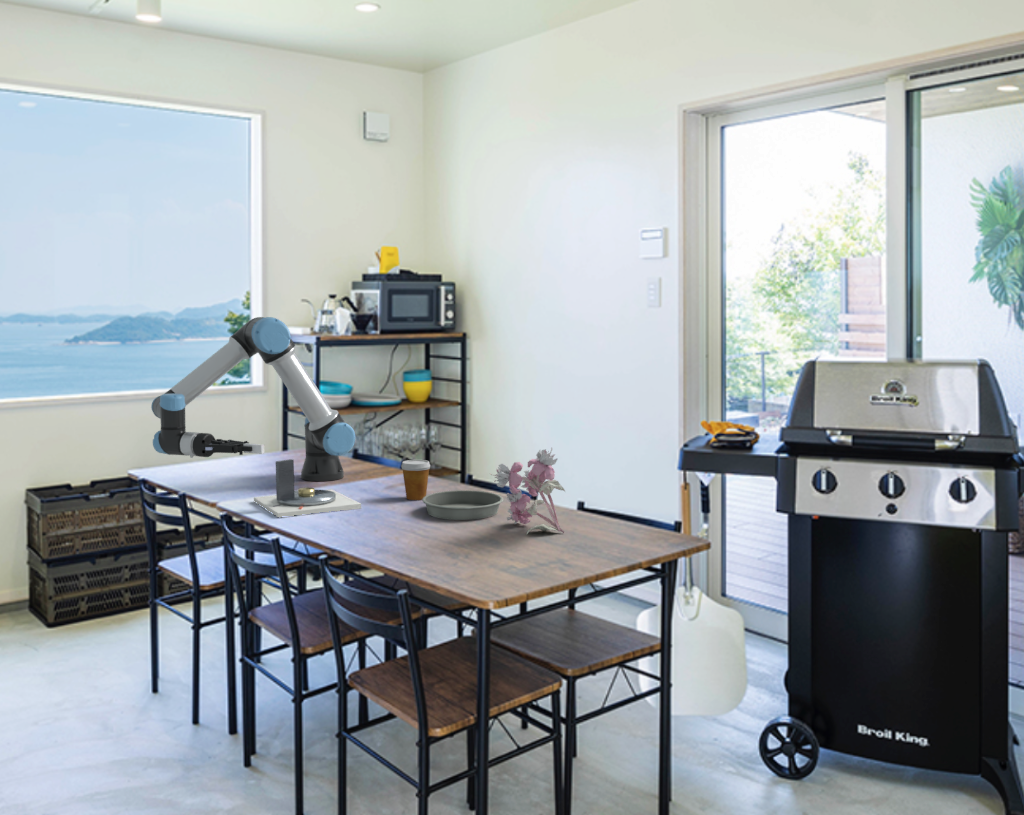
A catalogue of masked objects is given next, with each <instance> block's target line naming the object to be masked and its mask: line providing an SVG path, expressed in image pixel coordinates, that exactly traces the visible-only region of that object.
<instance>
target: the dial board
mask: <svg viewBox="0 0 1024 815" xmlns="http://www.w3.org/2000/svg"><path fill="white" fill-rule="evenodd" d="M326 490H327V491H332V492H334V493H335V494H336V499H335V500H334V501H332V502H329V503H325V504H319V505H310V506H291V505H284V504H280V503H278V502H277V494H273V495H265V496H256V497H253V502H254V501H255V502H257V503H258V504H260V505H261V506H263V507H264V508H266V509H267V510H268V511H270V512H272V513H273V514H274V515H276V516H277V517H282V516H293V517H295V516H294V515H302V514H310V513H319V512H327V513H332V512H331V511H335V512H341V511H340V510H344V511H350V510H358V509H359V510H360V509H362V503H361V502H358V501H357V500H355V499H353V498H350V497H348V496H346V495H344V494H342V493H340V492H339V491H336V490H335V489H326ZM255 502H254V503H255ZM258 504H257V505H258ZM261 506H260V507H261ZM264 508H263V509H264ZM267 510H266V511H267ZM268 511H267V512H268ZM329 511H330V512H329ZM270 512H269V513H270ZM273 514H272V515H273ZM319 514H320V513H319ZM274 515H273V516H274ZM310 515H311V514H310ZM276 516H275V517H276ZM302 516H303V515H302ZM277 517H276V518H277Z"/></svg>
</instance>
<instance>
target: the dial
mask: <svg viewBox="0 0 1024 815" xmlns="http://www.w3.org/2000/svg"><path fill="white" fill-rule="evenodd" d="M275 487H276V488H275V489H276V490H275V491H276V494H275V495H277V502H278V503H280V504H284V505H291V506H310V505H319V504H325V503H329V502H332V501H334V500H335V499H336V494H335V493H334V492H332V491H327V490H328V489H315V487H311V486H310V487H309V486H307V487H306V486H305V487H299V488H298V489H295V464H294V459H293V458H290V459H282V460H277V461H276V460H275Z"/></svg>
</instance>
